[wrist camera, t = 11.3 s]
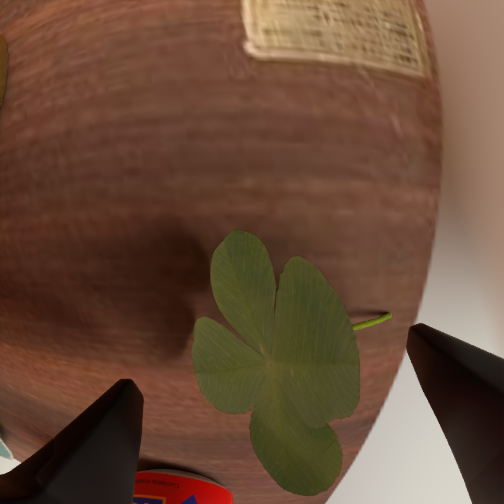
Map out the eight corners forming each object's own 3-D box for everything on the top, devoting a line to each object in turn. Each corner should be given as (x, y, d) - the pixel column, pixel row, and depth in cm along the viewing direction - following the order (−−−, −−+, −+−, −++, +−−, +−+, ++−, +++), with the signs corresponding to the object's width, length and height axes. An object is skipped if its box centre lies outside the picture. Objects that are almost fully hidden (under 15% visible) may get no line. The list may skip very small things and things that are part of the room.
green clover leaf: (292, 268, 14) (165, 287, 11) (424, 179, 8) (275, 137, 4) (335, 399, 12) (218, 458, 8) (491, 375, 6) (399, 529, 2)
